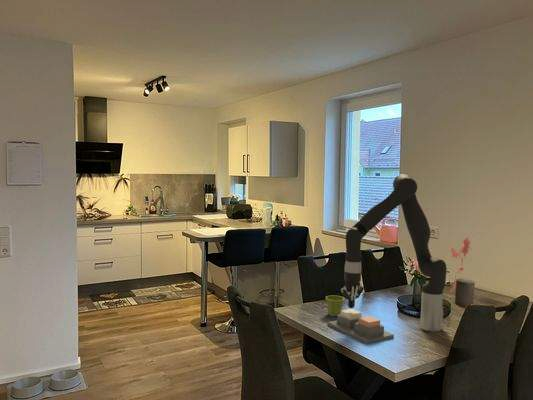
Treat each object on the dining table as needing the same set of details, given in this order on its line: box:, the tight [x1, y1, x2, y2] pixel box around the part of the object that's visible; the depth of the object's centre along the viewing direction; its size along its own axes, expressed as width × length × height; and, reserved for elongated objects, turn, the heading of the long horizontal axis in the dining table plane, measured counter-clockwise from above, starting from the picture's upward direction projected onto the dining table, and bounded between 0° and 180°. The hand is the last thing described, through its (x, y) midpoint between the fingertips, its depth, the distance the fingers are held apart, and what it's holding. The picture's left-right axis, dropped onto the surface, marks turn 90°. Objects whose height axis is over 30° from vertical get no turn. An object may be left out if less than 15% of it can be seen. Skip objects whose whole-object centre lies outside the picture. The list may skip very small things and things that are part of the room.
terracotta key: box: [358, 315, 381, 328], centre depth 197 cm, size 7×7×3 cm
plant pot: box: [325, 294, 345, 317], centre depth 225 cm, size 9×9×9 cm
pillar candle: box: [454, 277, 476, 307], centre depth 250 cm, size 10×10×15 cm
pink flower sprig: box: [446, 236, 473, 294], centre depth 274 cm, size 15×26×35 cm, turn 139°
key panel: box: [327, 314, 395, 345], centre depth 202 cm, size 16×26×5 cm, turn 30°
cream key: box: [340, 308, 362, 320], centre depth 207 cm, size 7×7×3 cm
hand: (351, 307), depth 207 cm, fingers closed
